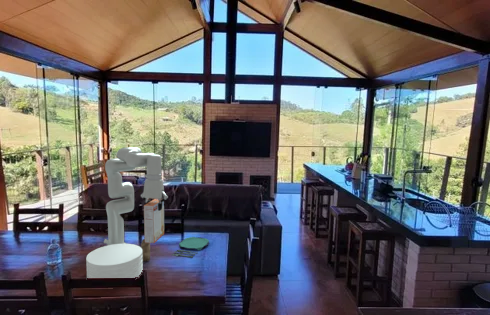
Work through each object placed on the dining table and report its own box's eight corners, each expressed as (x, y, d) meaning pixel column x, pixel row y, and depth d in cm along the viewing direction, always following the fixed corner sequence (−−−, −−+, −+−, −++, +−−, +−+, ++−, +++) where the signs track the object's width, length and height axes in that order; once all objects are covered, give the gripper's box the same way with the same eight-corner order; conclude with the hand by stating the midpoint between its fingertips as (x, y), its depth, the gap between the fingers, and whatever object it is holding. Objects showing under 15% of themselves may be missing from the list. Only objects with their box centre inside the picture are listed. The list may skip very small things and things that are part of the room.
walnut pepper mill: (139, 261, 181) (139, 238, 179) (144, 257, 186) (143, 235, 184) (147, 261, 180) (147, 238, 178) (151, 258, 185) (151, 235, 183)
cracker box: (154, 233, 174) (154, 198, 172) (164, 234, 174) (164, 198, 172) (143, 243, 161) (143, 204, 158) (154, 243, 160) (154, 205, 158)
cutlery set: (213, 241, 214) (213, 238, 214) (195, 259, 186) (195, 256, 185) (187, 238, 220) (187, 235, 219) (166, 255, 191) (166, 252, 191)
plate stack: (105, 260, 181) (105, 242, 179) (150, 263, 178) (150, 245, 177) (74, 285, 153) (74, 263, 152) (127, 289, 150) (127, 267, 149)
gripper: (135, 177, 161) (136, 210, 163) (166, 179, 159) (166, 212, 161) (142, 175, 168) (142, 206, 170) (171, 176, 166) (171, 208, 168)
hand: (154, 209), depth 165 cm, fingers closed on cracker box, 6 cm apart
